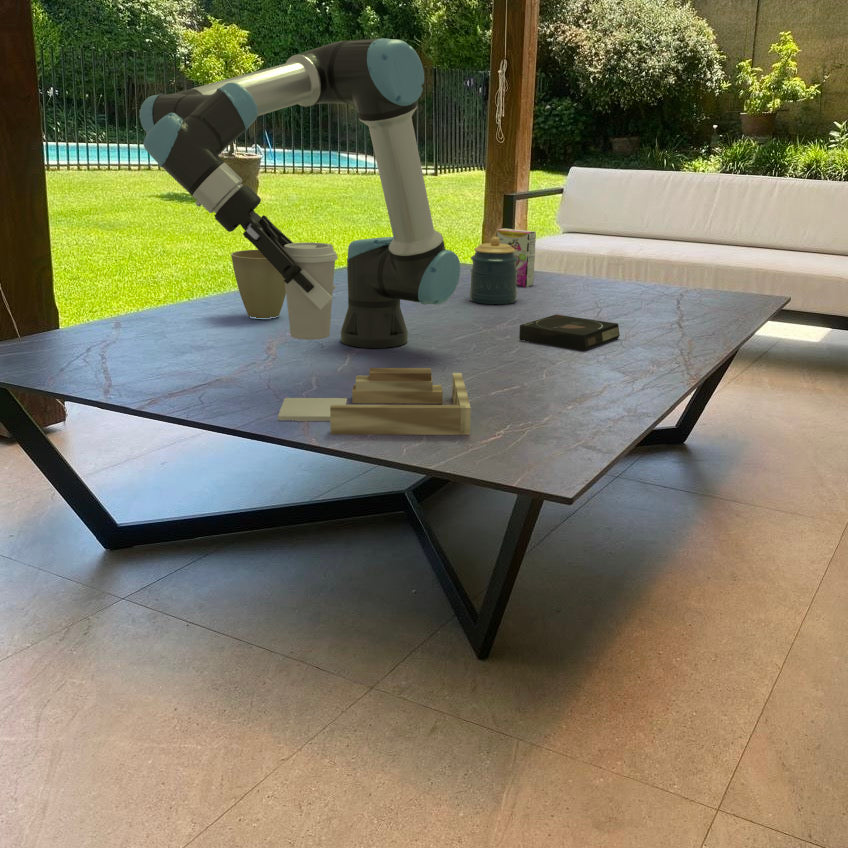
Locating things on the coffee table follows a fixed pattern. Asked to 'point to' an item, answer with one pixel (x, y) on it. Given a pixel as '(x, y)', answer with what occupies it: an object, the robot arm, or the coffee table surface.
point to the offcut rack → (406, 417)
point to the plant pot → (258, 284)
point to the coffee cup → (301, 309)
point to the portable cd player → (569, 332)
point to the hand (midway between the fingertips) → (328, 298)
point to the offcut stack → (397, 387)
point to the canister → (494, 273)
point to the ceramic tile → (308, 408)
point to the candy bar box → (521, 252)
